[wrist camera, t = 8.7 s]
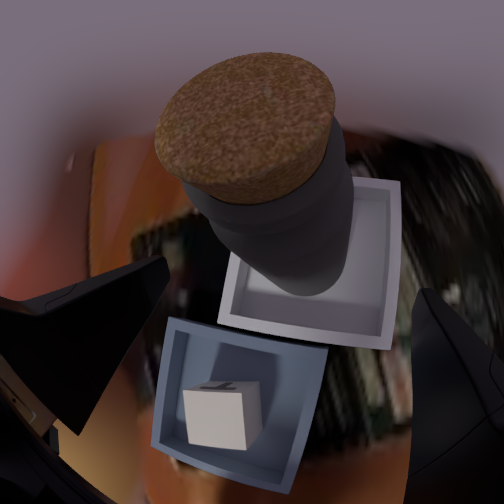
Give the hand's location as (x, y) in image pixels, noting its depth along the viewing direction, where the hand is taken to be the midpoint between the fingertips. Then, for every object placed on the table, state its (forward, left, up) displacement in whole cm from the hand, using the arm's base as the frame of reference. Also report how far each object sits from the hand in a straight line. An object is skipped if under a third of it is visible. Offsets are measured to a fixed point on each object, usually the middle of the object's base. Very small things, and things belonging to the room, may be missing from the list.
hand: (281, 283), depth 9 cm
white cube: (-8, +4, -11) cm, 14 cm away
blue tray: (-8, +4, -11) cm, 15 cm away
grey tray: (+4, 0, -11) cm, 12 cm away
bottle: (+4, +1, -11) cm, 11 cm away
